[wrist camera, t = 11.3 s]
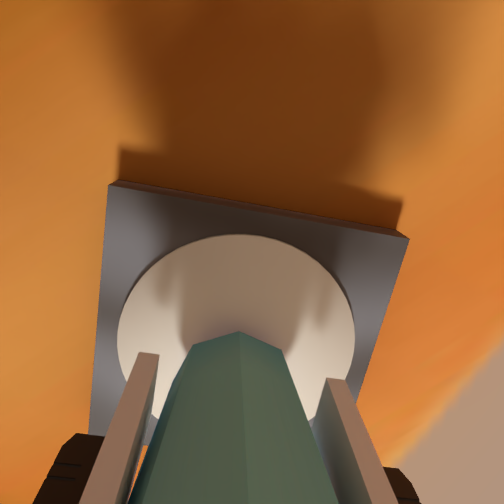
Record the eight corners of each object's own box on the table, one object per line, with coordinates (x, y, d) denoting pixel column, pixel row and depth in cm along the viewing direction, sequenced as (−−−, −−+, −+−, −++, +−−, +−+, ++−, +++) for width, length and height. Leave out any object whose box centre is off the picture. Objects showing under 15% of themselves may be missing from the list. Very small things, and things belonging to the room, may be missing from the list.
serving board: (118, 179, 17) (105, 186, 16) (396, 229, 19) (412, 241, 17) (97, 417, 21) (85, 443, 20) (328, 444, 23) (336, 471, 21)
